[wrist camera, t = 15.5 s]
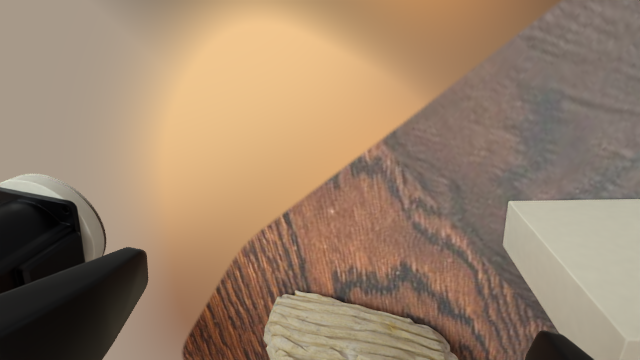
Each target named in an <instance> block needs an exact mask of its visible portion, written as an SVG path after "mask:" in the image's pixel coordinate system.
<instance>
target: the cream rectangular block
mask: <svg viewBox="0 0 640 360" xmlns="http://www.w3.org/2000/svg"><path fill="white" fill-rule="evenodd" d="M503 247H504V248H505V250H506V252H507V253H508V255H509V256H510V258H511V259H512V261H513V262H514V264H515V265H516V267H517V269H518V270H519V272H520V273H521V275H522V276H523V278H524V279H525V281H526V282H527V284H528V286H529V287H530V289H531V290H532V292H533V293H534V295H535V296H536V298H537V299H538V301H539V303H540V304H541V306H542V307H543V309H544V310H545V312H546V313H547V315H548V316H549V318H550V320H551V321H552V323H553V324H554V326H555V327H556V329H557V330H558V332H559V333H560V334H562V335H564V336H565V337H567V338H568V339H569V340H570V341H572V342H573V343H574V344H575V345H577V346H578V347H579V348H580V349H582V350H583V351H584V352H585V353H587V354H588V355H589V356H591V357H592V358H593V359H594V360H640V199H610V200H549V201H509V202H508V209H507V217H506V224H505V232H504V239H503Z"/></svg>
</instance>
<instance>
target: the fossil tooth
mask: <svg viewBox="0 0 640 360" xmlns="http://www.w3.org/2000/svg"><path fill="white" fill-rule="evenodd" d="M264 341H265V343H266V344H267V345H268V347H267V348H266V350H267V352H268V355H269V358H270V360H458V358H457V357H456V355H454V354H453V353H451V352H450V345H449V344H448V343H447V341H446V340H445V339H444V337H443V336H442V335H440V334H439V333H438V332H436V331H435V330H433V329H431V328H430V327H428V326H426V325H420V324H415V323H414V322H413V321H412V320H411V319H408V318H403V317H399V316H395V315H392V314H389V313H386V312H381V311H376V310H372V309H368V308H366V307H363V306H360V305H356V304H355V305H353V304H347V303H343V302H340V301H338V300H335V299H333V298H331V297H326V296H321V295H319V294H311V293H303V292H299V291H295V295H294V296H292V295H288V294H285V295H282V297H277V299H276V302H275V303H274V306H273V309H272V311H271V313H270V316H269V320H268V322H267V324H266V327H265V333H264Z"/></svg>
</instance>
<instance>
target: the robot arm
mask: <svg viewBox="0 0 640 360" xmlns="http://www.w3.org/2000/svg"><path fill="white" fill-rule="evenodd" d="M67 208H68V209H69V210H68V209H67ZM147 283H148V268H147V255H146V252H145V251H144V250H141V249H136V248H131V247H126V248H123V249H120V250H118V251H115V252H112V253H110V254H107V255H105V256H102V257H99V258H96V259H93V260H91V261H88V262H85V256H84V249H83V243H82V236H81V229H80V222H79V216H78V209H77V206H76V205H75V203H73V202H72V201H70V200H65V199H60V198H54V197H49V196H44V195H39V194H34V193H28V192H23V191H18V190H13V189H8V188H2V187H0V360H102V359H103V357H104V356H105V354H106V353H107V352H108V350H109V349H110V347H111V346H112V344H113V342H114V341H115V339H116V338H117V336H118V334H119V333H120V331H121V329H122V327H123V326H124V324H125V322H126V321H127V319H128V317H129V316H130V314H131V312H132V311H133V309H134V307H135V305H136V304H137V302H138V300H139V299H140V297H141V295H142V294H143V292H144V290H145V288H146V286H147ZM525 360H594V359H593V358H592V357H591V356H589V355H588V354H587V353H585V352H584V351H583V350H582V349H580V348H579V347H578V346H577V345H575V344H574V343H573V342H572V341H570V340H569V339H568V338H567V337H565V336H564V335H562V334H560V333H555V332H550V331H545V330H544V331H540V332H539V333H538V334H537V335H536V337H535V339H534V341H533V343H532V345H531V347H530V349H529V351H528V353H527V354H526V357H525Z"/></svg>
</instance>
